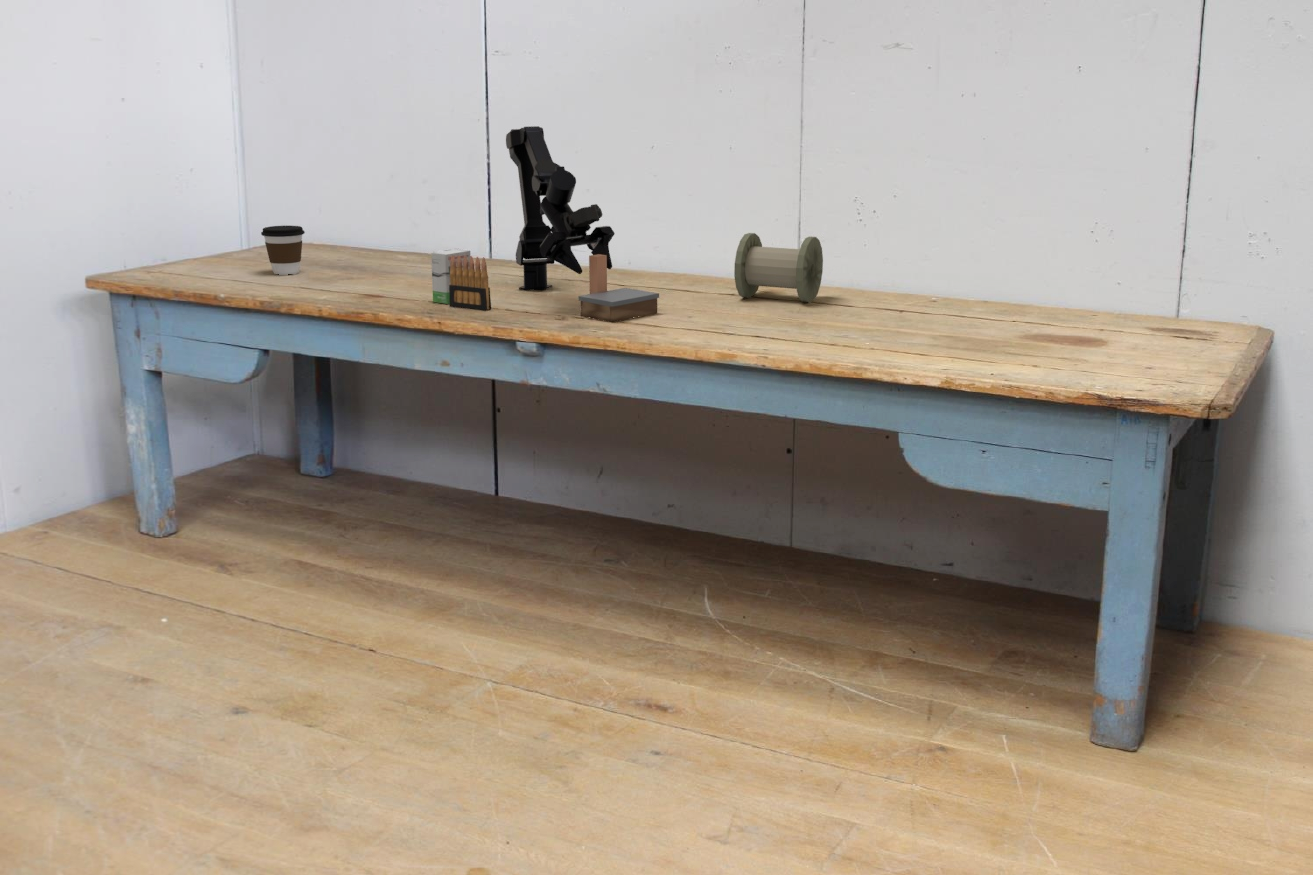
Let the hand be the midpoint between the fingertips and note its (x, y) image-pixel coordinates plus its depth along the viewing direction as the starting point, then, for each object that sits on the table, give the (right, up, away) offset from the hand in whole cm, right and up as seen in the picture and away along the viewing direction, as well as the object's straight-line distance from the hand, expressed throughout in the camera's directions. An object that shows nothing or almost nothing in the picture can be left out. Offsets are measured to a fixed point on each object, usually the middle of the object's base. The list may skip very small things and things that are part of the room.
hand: (596, 270), depth 289 cm
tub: (+5, -10, -2) cm, 11 cm away
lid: (+4, -6, -2) cm, 8 cm away
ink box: (-34, -5, +15) cm, 38 cm away
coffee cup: (-84, +6, +53) cm, 100 cm away
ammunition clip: (-29, -8, +6) cm, 31 cm away
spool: (+42, -5, +17) cm, 46 cm away
